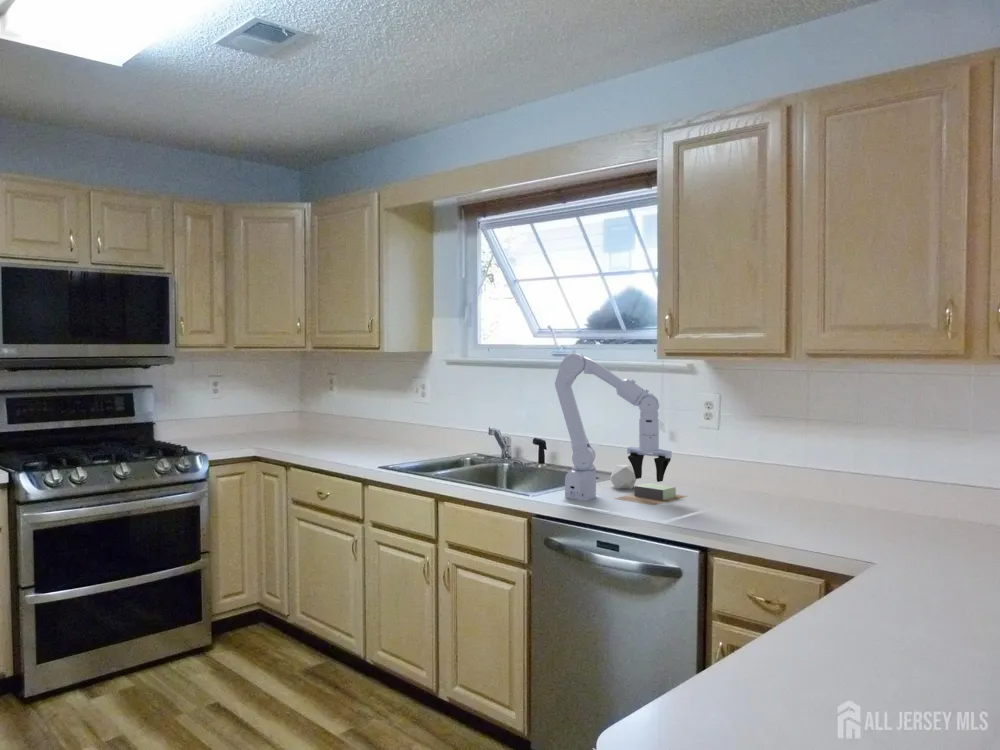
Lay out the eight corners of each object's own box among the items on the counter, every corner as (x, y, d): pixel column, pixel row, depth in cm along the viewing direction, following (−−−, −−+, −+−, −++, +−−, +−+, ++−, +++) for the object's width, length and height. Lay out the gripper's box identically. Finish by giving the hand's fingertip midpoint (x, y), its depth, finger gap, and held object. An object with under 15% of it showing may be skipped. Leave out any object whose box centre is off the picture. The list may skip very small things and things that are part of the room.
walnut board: (653, 507, 219) (653, 505, 219) (614, 500, 229) (613, 498, 229) (687, 498, 232) (687, 496, 232) (648, 492, 242) (648, 490, 242)
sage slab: (662, 490, 226) (675, 487, 231) (634, 486, 233) (647, 483, 238) (662, 500, 226) (675, 496, 231) (634, 495, 233) (647, 492, 238)
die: (630, 494, 242) (644, 468, 244) (606, 480, 243) (620, 455, 246) (626, 499, 249) (640, 474, 252) (603, 485, 251) (616, 460, 254)
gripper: (677, 435, 227) (677, 480, 227) (636, 431, 237) (636, 475, 238) (663, 437, 222) (663, 484, 222) (623, 433, 232) (623, 478, 233)
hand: (649, 479), depth 230 cm, fingers open, 7 cm apart
